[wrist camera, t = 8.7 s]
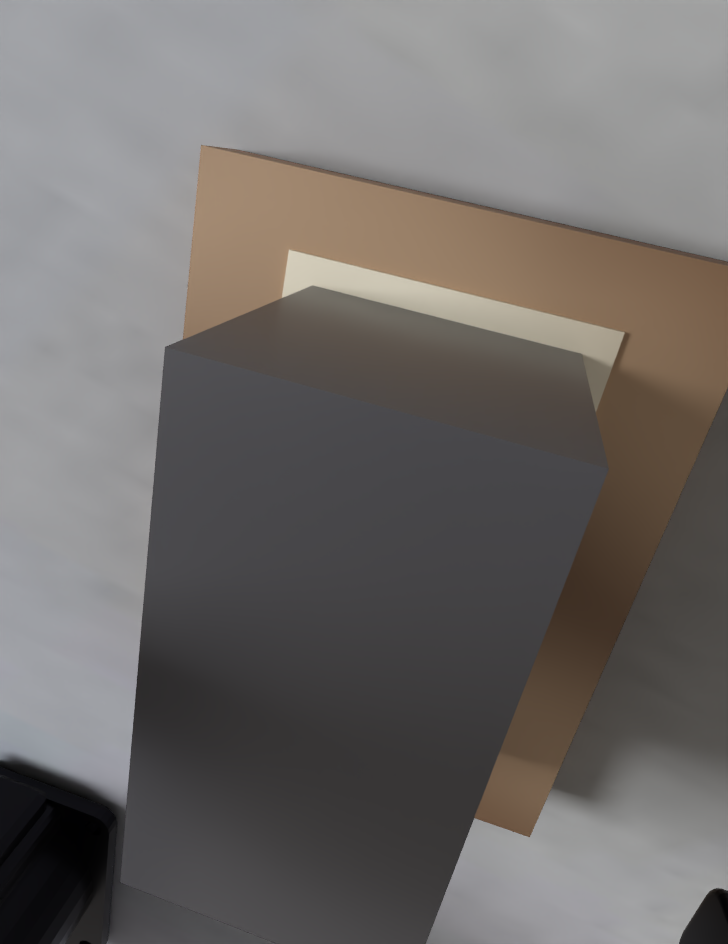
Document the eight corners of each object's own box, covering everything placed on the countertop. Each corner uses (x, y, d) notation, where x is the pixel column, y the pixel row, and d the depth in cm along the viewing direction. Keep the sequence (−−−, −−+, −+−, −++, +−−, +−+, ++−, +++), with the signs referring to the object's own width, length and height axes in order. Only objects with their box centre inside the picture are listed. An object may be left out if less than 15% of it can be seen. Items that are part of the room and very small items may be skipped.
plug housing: (448, 742, 14) (406, 994, 10) (246, 674, 15) (119, 882, 11) (581, 353, 11) (609, 468, 6) (312, 285, 12) (165, 346, 7)
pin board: (530, 783, 16) (529, 840, 15) (178, 664, 18) (146, 706, 16) (748, 267, 11) (778, 278, 10) (237, 150, 13) (198, 144, 11)
